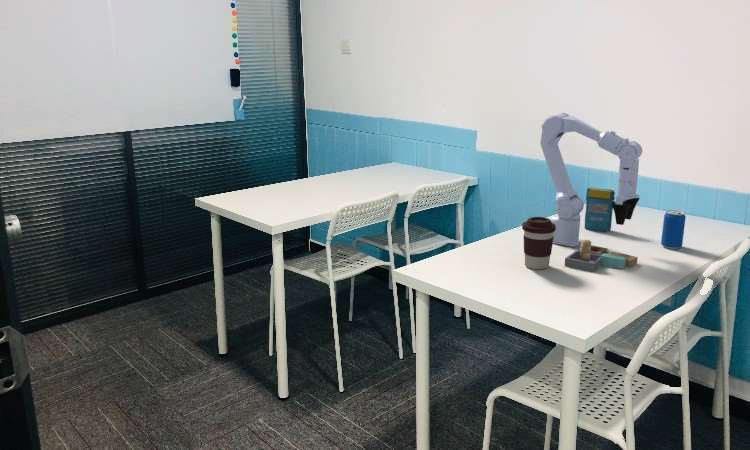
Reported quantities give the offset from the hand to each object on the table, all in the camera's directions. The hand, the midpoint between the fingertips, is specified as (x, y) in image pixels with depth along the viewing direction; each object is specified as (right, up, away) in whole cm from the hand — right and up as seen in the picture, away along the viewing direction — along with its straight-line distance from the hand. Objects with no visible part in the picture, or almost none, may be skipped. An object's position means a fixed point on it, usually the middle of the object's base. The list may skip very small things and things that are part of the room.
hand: (623, 221), depth 211 cm
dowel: (-15, -13, -8) cm, 22 cm away
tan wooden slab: (-3, -13, -6) cm, 15 cm away
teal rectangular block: (-7, -14, -9) cm, 18 cm away
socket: (-10, -11, -1) cm, 15 cm away
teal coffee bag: (+1, -3, +28) cm, 28 cm away
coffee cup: (-30, -14, -9) cm, 34 cm away
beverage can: (+19, -9, +7) cm, 22 cm away
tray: (-15, -13, -8) cm, 22 cm away
